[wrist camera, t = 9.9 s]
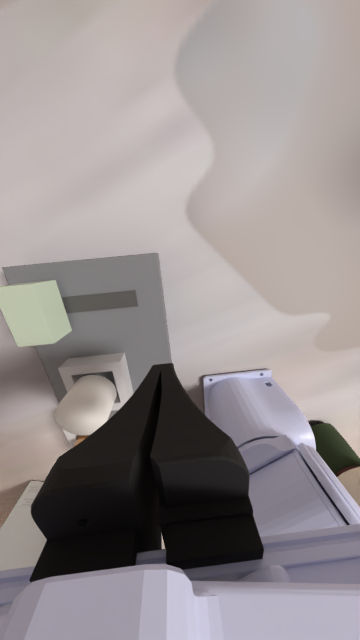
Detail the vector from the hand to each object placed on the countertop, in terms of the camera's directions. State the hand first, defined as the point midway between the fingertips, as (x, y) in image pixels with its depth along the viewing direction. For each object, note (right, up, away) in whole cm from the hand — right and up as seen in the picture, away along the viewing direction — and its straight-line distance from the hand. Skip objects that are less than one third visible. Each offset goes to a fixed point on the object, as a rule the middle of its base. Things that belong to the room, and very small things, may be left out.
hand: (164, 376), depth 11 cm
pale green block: (-12, +5, +5) cm, 14 cm away
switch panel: (-7, -2, +11) cm, 13 cm away
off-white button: (-8, -4, +6) cm, 11 cm away
